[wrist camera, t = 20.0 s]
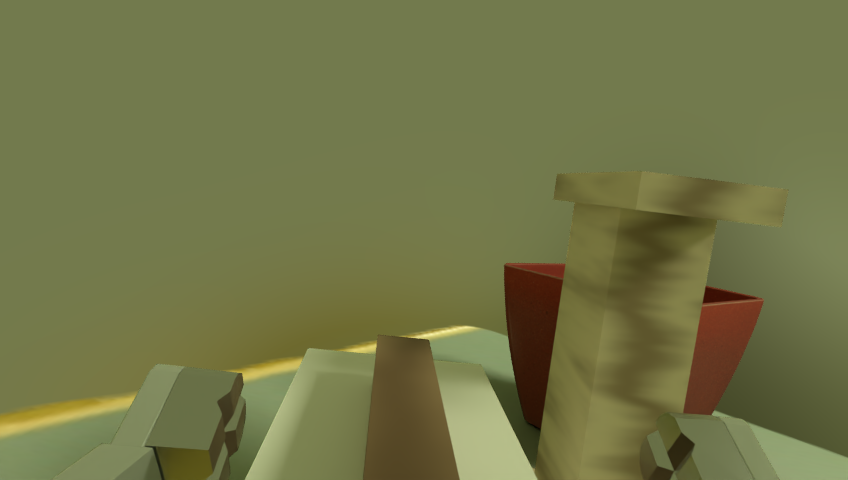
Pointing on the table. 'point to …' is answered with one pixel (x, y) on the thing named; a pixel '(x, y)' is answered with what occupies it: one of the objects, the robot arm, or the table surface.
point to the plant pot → (536, 325)
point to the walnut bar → (407, 416)
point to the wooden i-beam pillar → (631, 311)
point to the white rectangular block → (349, 415)
